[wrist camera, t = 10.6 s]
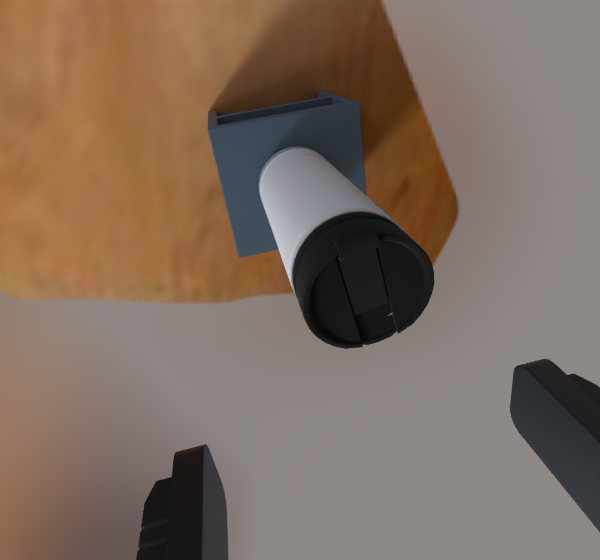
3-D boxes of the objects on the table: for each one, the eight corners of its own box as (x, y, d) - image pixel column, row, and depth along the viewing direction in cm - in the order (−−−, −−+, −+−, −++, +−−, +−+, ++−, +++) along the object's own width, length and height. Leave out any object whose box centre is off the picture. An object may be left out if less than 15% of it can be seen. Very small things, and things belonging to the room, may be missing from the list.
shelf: (208, 111, 44) (207, 129, 33) (324, 90, 45) (359, 101, 34) (232, 214, 49) (238, 258, 39) (336, 193, 50) (369, 230, 40)
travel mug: (319, 130, 35) (429, 206, 17) (340, 205, 38) (451, 333, 20) (245, 157, 35) (280, 261, 17) (272, 230, 38) (326, 380, 20)
